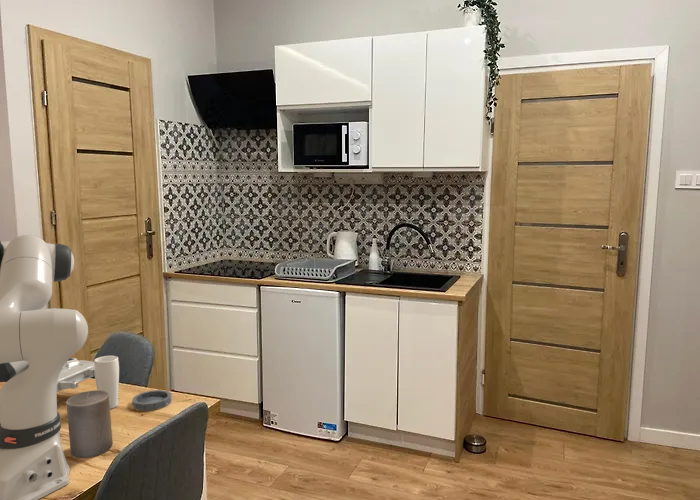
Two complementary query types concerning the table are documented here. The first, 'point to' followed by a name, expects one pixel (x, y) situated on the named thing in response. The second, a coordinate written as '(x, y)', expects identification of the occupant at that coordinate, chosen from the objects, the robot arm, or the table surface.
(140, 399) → the coaster
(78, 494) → the table surface
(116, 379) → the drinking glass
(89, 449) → the pillar candle
